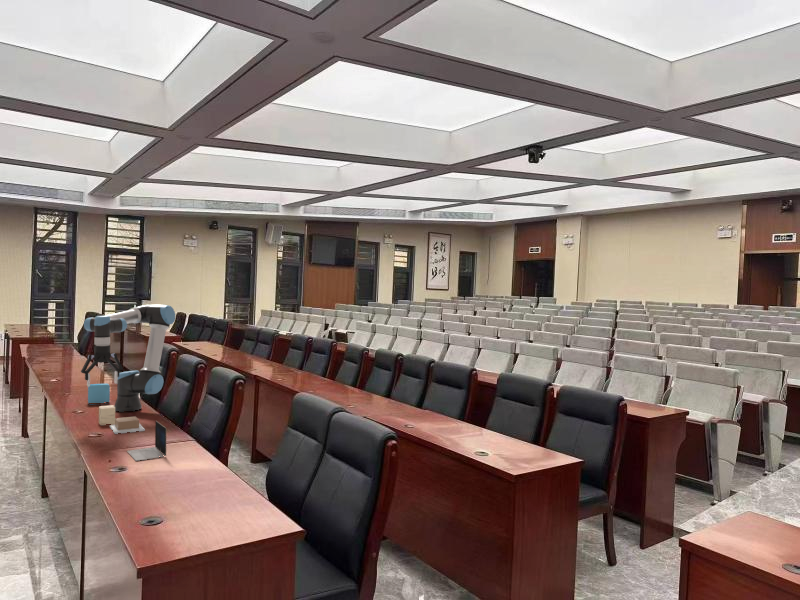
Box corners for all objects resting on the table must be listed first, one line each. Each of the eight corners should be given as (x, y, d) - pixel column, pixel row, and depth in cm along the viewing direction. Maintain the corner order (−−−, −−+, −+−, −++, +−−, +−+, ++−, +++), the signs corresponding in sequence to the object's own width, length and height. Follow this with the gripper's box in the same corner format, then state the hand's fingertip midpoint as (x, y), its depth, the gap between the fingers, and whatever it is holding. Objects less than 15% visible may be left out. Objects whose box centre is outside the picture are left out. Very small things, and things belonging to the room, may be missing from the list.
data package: (109, 402, 377) (109, 383, 377) (109, 403, 373) (109, 384, 373) (87, 403, 371) (88, 384, 371) (88, 404, 367) (88, 385, 367)
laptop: (126, 452, 266) (127, 423, 266) (156, 448, 273) (156, 420, 273) (135, 462, 251) (136, 431, 251) (166, 457, 259) (166, 428, 258)
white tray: (109, 426, 311) (109, 417, 311) (138, 423, 319) (138, 414, 319) (114, 434, 296) (115, 424, 296) (144, 430, 304) (144, 421, 304)
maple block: (98, 422, 320) (98, 406, 320) (113, 421, 324) (113, 405, 323) (100, 425, 314) (100, 408, 314) (115, 424, 318) (115, 407, 318)
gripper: (124, 342, 326) (124, 381, 326) (74, 345, 309) (74, 386, 309) (129, 344, 320) (129, 383, 321) (78, 347, 303) (78, 388, 304)
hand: (102, 384), depth 315 cm, fingers open, 13 cm apart
